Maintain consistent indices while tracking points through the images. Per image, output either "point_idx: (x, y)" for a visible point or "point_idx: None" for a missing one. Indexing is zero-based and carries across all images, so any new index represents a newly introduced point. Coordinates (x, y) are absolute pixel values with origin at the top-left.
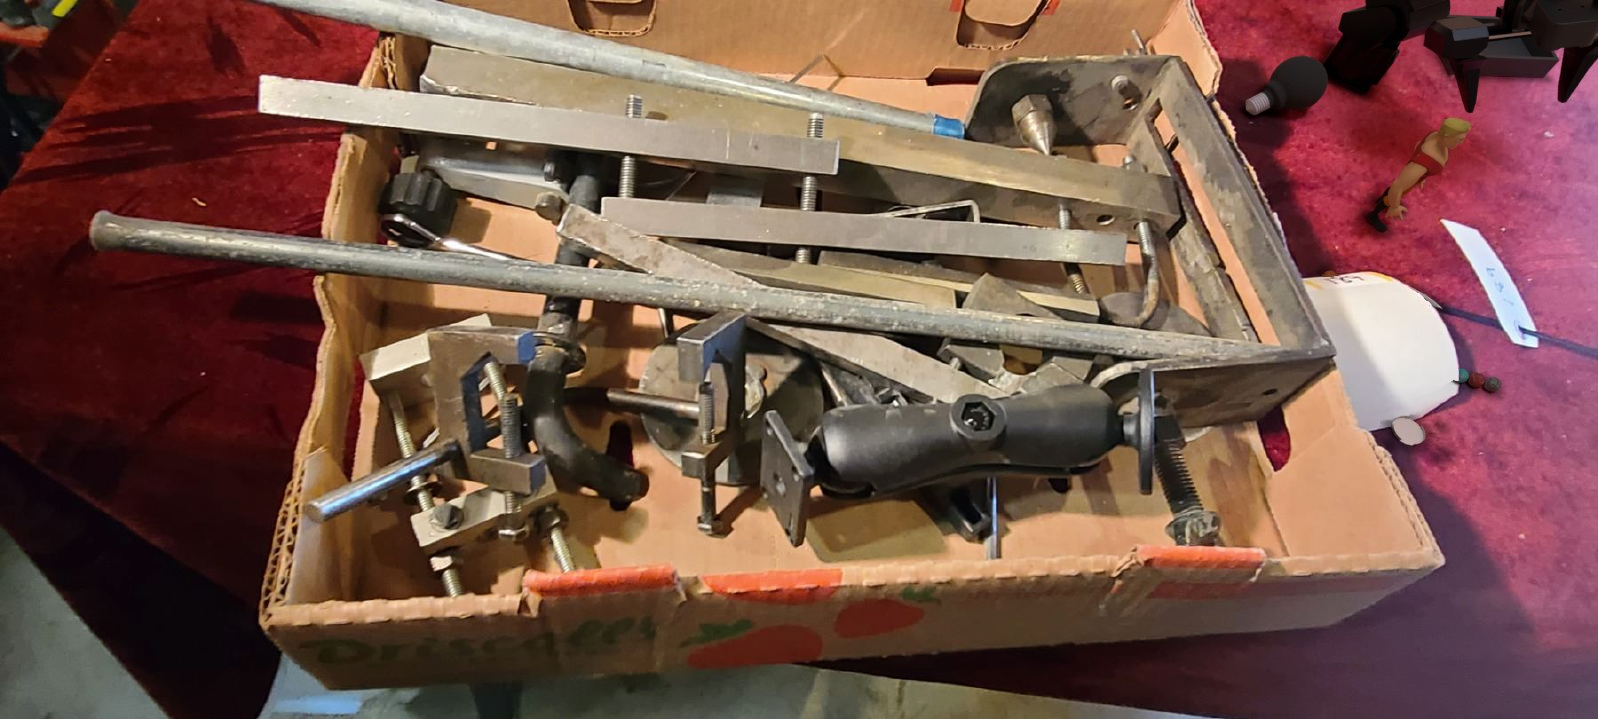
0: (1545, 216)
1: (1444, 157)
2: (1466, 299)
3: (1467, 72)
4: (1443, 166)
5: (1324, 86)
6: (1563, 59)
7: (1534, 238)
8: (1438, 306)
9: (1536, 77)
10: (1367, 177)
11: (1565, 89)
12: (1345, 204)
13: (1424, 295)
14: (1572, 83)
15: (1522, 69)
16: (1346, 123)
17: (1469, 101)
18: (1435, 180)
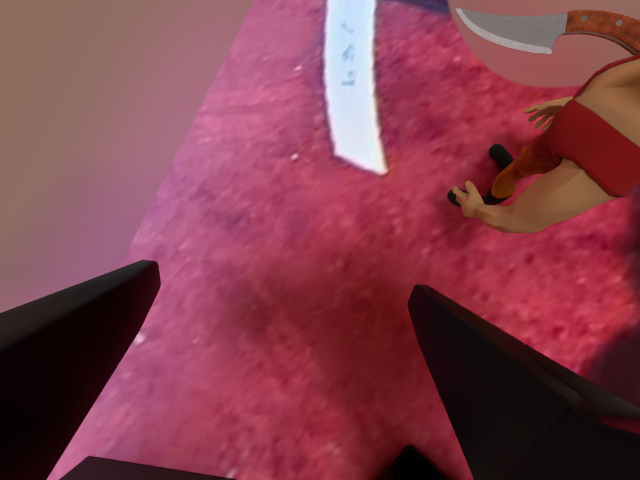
0: (219, 181)
1: (616, 86)
2: (408, 28)
3: (628, 409)
4: (608, 70)
5: None
6: (56, 453)
7: (255, 141)
8: (461, 10)
9: (98, 458)
10: (475, 259)
11: (129, 290)
12: None
13: (475, 28)
14: (93, 294)
15: (115, 476)
16: None
17: (459, 305)
18: (359, 251)
